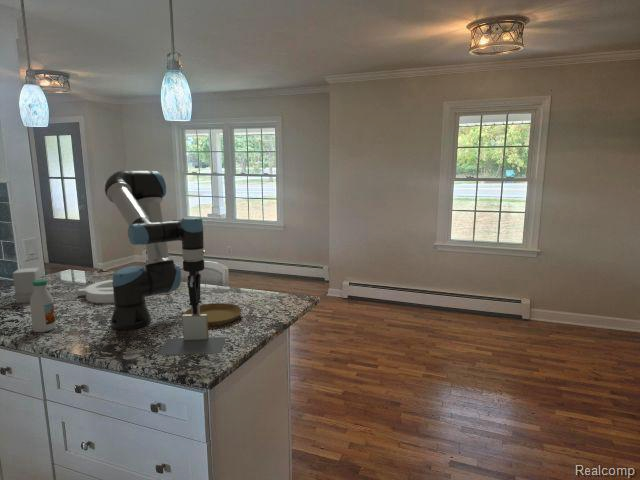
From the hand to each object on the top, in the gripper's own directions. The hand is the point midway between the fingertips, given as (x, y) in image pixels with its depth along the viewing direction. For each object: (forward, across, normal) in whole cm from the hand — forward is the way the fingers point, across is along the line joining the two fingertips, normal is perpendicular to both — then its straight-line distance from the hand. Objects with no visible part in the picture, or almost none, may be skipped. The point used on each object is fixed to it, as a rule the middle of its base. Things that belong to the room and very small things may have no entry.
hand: (196, 320), depth 155 cm
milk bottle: (+8, +15, +62) cm, 64 cm away
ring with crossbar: (+8, +61, +51) cm, 80 cm away
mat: (+8, -6, 0) cm, 10 cm away
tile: (+7, -1, 0) cm, 7 cm away
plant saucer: (+8, +23, -3) cm, 24 cm away
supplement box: (+7, +54, +89) cm, 104 cm away
